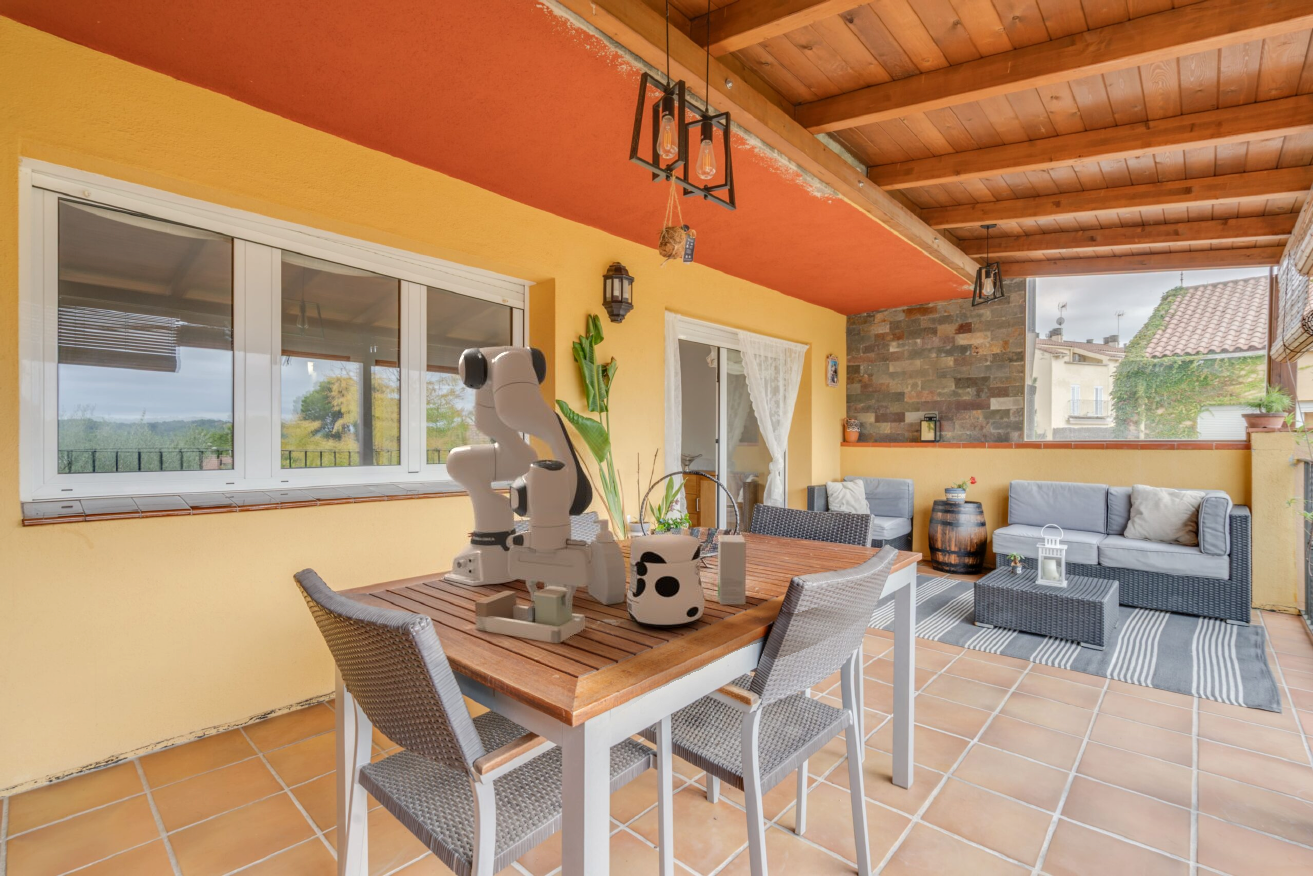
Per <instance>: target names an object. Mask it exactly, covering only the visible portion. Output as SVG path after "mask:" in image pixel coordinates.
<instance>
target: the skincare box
mask: <svg viewBox="0 0 1313 876" xmlns="http://www.w3.org/2000/svg"><path fill="white" fill-rule="evenodd" d="M717 537H718V538H717V562H718V563H717V598H718V602H719V605H720V606H722V605H723V606H726V605H727V606H731V605H732V606H733V605H734V606H736V605H737V606H738V605H739V606H741V605H744V606H745V605H746V588H747V587H746V584H747V582H746V581H747V580H746V577H747V576H746V574H747V572H746V571H747V570H746V568H747V565H746V564H747V542H746V538H745V537H744V536H743V535H742V534H736V535H735V534H718V536H717Z"/></svg>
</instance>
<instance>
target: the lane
mask: <svg viewBox="0 0 1313 876" xmlns="http://www.w3.org/2000/svg"><path fill="white" fill-rule="evenodd" d="M474 605H475V606H474V607H475V608H474V611H475V613H474V614H475V630H477V631H483V632H489V633H494V634H501V635H506V636H512V637H516V638H522V639H529V640H535V641H540V642H545V643H550V644H551V643H552V644H556V645H558V644H560V643H562V642H563V640H564V641H565V640H567V639H569V638H571V637H573V636H574V634H575V635H577V634H579V633H580V632H582V631H584V630H585V628H586V626H585V625H586V618H585V616H586V615H585V614H580V613H573V612H572V620H571V621H569V622H567V623H565V624H563V625H561V626H559V627H557V626H551V625H545V624H539V623H532V622H526V621H521V620H523V619H526V618H528V611H527V608H528V607H529V606H525V605H518V604H517V591H511V590H504V591H502V592H499V593H496V594H493V595H489V596H487V597H485V598H482V599H479V600H477V601H474ZM583 629H584V630H583ZM581 630H582V631H581ZM572 635H573V636H572ZM570 636H571V637H570Z"/></svg>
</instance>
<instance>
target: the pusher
mask: <svg viewBox="0 0 1313 876" xmlns="http://www.w3.org/2000/svg"><path fill="white" fill-rule="evenodd" d="M527 607H528V608H527V611H528V618H526V619H523V620H521V621H526V622H532V623H535V604H533V605H531V606H527Z"/></svg>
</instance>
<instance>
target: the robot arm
mask: <svg viewBox="0 0 1313 876" xmlns="http://www.w3.org/2000/svg"><path fill="white" fill-rule="evenodd" d="M458 361H459V362H458V374H459V376H460V379H461V382H462V384H463V385H464V386H465V387H467V388H469V389H473V390H474V414H473V415H474V417H473V418H474V420H473V421H474V425H475V428H476V429H477V430H478V432H479V433H481V434H482V435H484V437H485V436H486V437H487V438H491V439H492V440H493V441H495V442H494V443H484V444H481V443H478V444H477V443H475V444H474V443H473V444H465V445H459V446H456V447H454V448H452V449H451V450H450V451H449V453H448V455H447V456H446V461H445V469H446V471H447V473H448V475H449V477H450V478H451V479H452V481H454V482H456V483H458V485H460V486H461V487H462V488H463V489H464V490H465V491H466V493H467V494H468V496H469V498H470V501H471V503H472V507H473V517H474V518H473V519H474V530H473V532H469V533H467V535H468V536H467V538H470V541H469V542H470V543H469V544H468V545H467V546H465V547H464V548H463V549H462V550H461V551H460V552H459V553H457V554H456V555H455V556H454V558H453V561H452V569H451V571H450V573H449V572H447V573H445V574H444V575H443V579H444V578H445V579H444V580H446V581H451V582H455V583H459V584H463V585H467V586H473V587H474V586H475V587H476V586H483V585H495V584H505V583H508V582H513V581H516V580H521V581H523V580H524V581H525V586H526V588H527V590H528V592H529V593H530V601H531V602H535V595H534V592H536V591H539V589H538V588H537V585H536V584H538V582H539V583H544V582H546V583H554V584H562V585H566V590H568V592H567V594H566V596H565V597H562V605H563V606H571V605H572V606H573V602H574V601H573V598H574V597H573V596H574V595H575V594H576V591H577V589H578V587H579V588H585V587H586V588H587V586H589V585H591V584H592V583H593V582H594V580H595V569H594V562H593V549H592V547H591V545H590V543H589V542H587V541H586V540H585V539H583V540H582V539H580V540H579V539H573V538H572V519H571V516H573V517H574V516H575V517H576V516H577V517H579V516H581V515H582V514H583V513H585V511H586V510H587V509H588V508H589V507H590V505H591V504H592V501H593V495H594V494H593V493H594V492H593V487H592V484H591V481H590V479H589V478H588V476H587V474H586V473H585V471H584V469H583V467H582V465H581V463H580V460H579V458H578V455H577V453H576V450H575V447H574V445H573V443H572V441H571V438H570V434H569V433H568V430H567V428H566V426H565V423H564V421H563V420H562V418H561V416H560V414H559V413H558V412H556V411H555V410H553V409H552V407H550V405H548V403H547V402H546V401H545V399H544V397H543V395H542V391H541V388H540V385H542V383H544V381H545V379H546V376H547V370H548V369H547V367H548V366H547V365H548V364H547V361H546V357H545V354H544V353H543V351H541V349H539V348H535V347H533V346H532V347H531V346H526V347H523V346H522V347H521V346H516V345H515V346H514V345H502V346H488V347H481V348H480V347H478V346H476V347H471V348H467V349H464V351H463V352H462V353H461V355H460V359H459V360H458ZM520 433H523V434H527V435H529V436H532V437H535V438H537V439H538V440H541V441H543V442H544V443H545V444H547V445H548V447H549V448H550V450H551V451H552V452H551V453H552V456H553V457H554V460H552V459H539V456H538V453H537V451H536V449H535V448H534V447H533V446H532V445H530V444H529V443H527V442H526V441H525V440H524V438H522V437H521V435H520ZM494 482H499V483H500V482H512V483H511V484H510V486H509V497H508V496H507V495H504V494H502V493H501V492H497V491H496V490H494V489H493V488H492V483H494ZM515 515H517V516H519V517H520V518H529V521H528V529H526V530H523V531H522V532H518V533H517V530H516V528H515ZM456 570H457V571H456Z"/></svg>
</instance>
